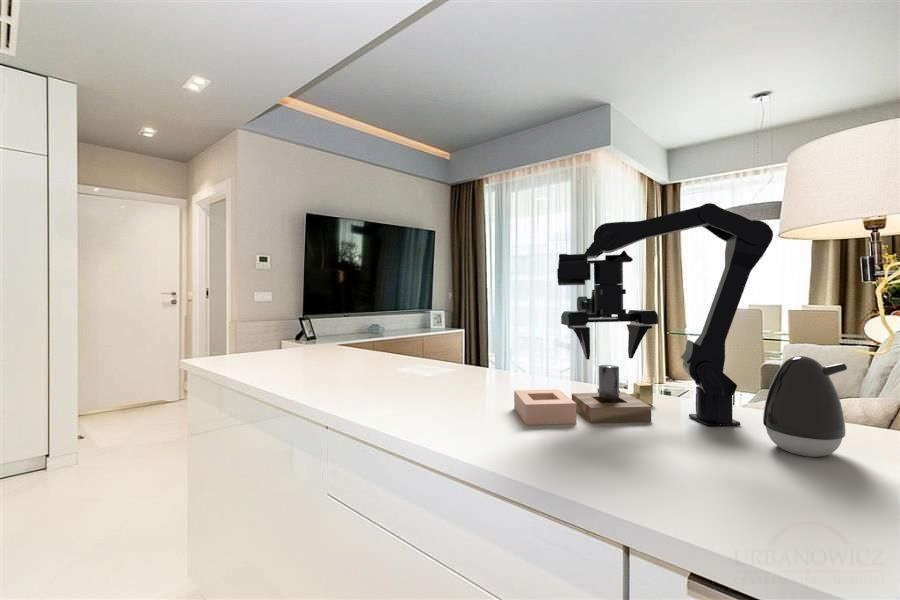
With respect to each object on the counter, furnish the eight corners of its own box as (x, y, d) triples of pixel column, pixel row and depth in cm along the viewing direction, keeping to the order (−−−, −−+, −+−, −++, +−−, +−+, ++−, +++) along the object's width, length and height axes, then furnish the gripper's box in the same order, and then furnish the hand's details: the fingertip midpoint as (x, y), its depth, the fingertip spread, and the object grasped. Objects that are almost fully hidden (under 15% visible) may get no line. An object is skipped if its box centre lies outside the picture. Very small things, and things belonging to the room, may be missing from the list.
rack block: (576, 423, 85) (576, 403, 85) (525, 424, 84) (525, 404, 84) (558, 407, 97) (558, 389, 97) (514, 408, 96) (514, 390, 96)
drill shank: (622, 416, 89) (622, 368, 89) (603, 416, 89) (603, 368, 89) (614, 410, 93) (614, 364, 93) (596, 411, 93) (595, 365, 93)
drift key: (652, 404, 97) (652, 385, 97) (604, 405, 97) (604, 386, 97) (646, 400, 100) (646, 382, 100) (599, 401, 100) (599, 383, 100)
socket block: (651, 421, 85) (651, 404, 85) (591, 423, 85) (591, 406, 85) (619, 402, 100) (618, 388, 100) (567, 403, 100) (567, 389, 100)
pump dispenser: (855, 469, 62) (856, 363, 62) (765, 455, 67) (765, 358, 67) (838, 446, 71) (839, 354, 70) (760, 436, 76) (760, 350, 76)
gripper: (634, 284, 99) (634, 352, 99) (553, 285, 98) (554, 354, 99) (659, 283, 88) (660, 360, 88) (569, 285, 87) (569, 362, 87)
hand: (609, 358), depth 91 cm, fingers open, 9 cm apart
